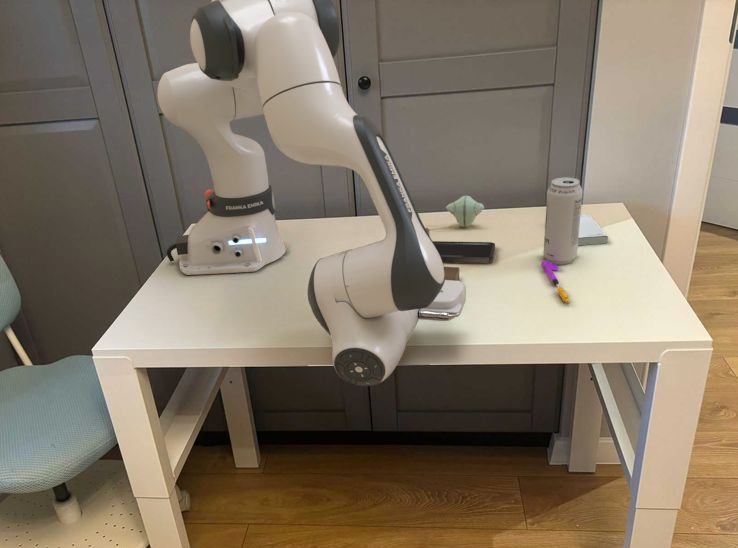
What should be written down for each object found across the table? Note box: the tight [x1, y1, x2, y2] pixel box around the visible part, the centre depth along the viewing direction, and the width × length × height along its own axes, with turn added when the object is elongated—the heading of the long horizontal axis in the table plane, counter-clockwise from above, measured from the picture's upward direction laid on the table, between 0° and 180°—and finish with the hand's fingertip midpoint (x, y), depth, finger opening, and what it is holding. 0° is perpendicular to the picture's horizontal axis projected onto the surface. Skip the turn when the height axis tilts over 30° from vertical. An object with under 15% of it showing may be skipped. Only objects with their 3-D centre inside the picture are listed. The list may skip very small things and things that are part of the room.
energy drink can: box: [542, 176, 584, 265], centre depth 130 cm, size 6×6×15 cm
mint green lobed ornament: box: [445, 195, 485, 228], centre depth 151 cm, size 8×4×7 cm, turn 74°
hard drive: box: [578, 213, 609, 246], centre depth 144 cm, size 2×8×12 cm
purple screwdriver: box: [540, 259, 570, 304], centre depth 125 cm, size 3×1×16 cm
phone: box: [432, 240, 496, 264], centre depth 140 cm, size 8×1×15 cm
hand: (410, 274), depth 118 cm, fingers open, 8 cm apart
